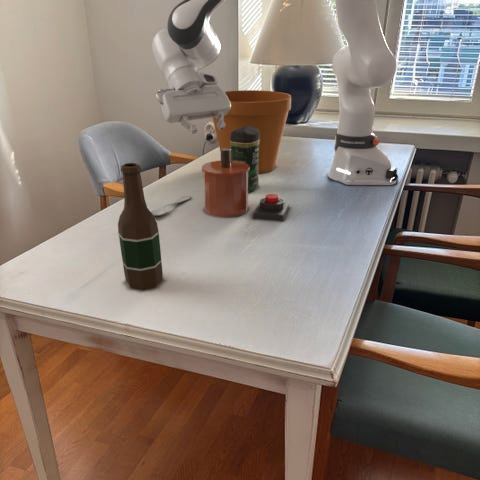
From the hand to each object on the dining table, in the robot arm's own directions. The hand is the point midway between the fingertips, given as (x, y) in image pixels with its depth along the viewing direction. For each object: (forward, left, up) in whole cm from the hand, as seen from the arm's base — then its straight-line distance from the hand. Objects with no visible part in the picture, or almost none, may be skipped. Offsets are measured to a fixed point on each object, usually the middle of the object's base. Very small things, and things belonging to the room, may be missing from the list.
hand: (208, 130), depth 131 cm
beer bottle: (0, +51, -20) cm, 55 cm away
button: (-19, +5, -17) cm, 26 cm away
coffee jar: (-7, -15, -20) cm, 27 cm away
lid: (-6, +5, -9) cm, 12 cm away
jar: (-6, +5, -20) cm, 22 cm away
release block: (-19, +5, -20) cm, 28 cm away
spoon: (+10, +7, -20) cm, 24 cm away
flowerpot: (-3, -41, -20) cm, 46 cm away
